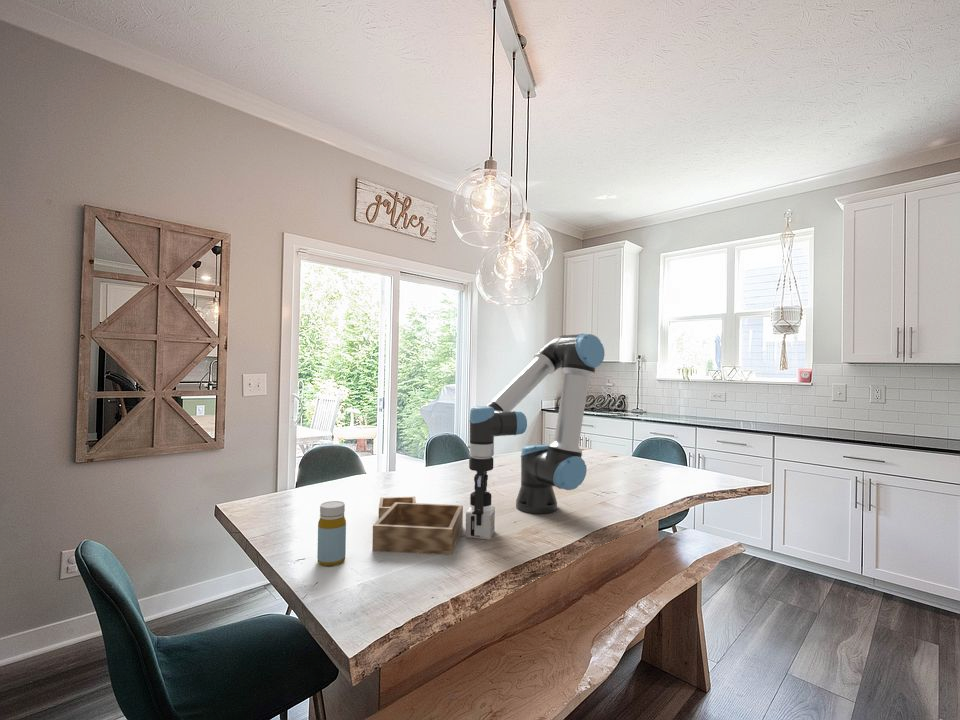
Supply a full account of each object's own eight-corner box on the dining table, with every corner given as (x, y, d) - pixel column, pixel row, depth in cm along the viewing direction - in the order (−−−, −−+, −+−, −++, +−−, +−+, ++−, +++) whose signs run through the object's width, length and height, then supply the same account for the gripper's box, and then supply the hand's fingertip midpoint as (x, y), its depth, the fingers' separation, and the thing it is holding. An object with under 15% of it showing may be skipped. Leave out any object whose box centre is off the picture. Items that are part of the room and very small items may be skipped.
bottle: (321, 556, 125) (322, 500, 126) (347, 555, 126) (348, 500, 126) (314, 567, 118) (315, 508, 119) (342, 566, 119) (343, 508, 119)
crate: (462, 526, 150) (462, 505, 150) (451, 554, 127) (452, 529, 128) (394, 523, 152) (395, 502, 152) (372, 550, 130) (372, 525, 130)
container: (490, 539, 139) (491, 496, 139) (465, 537, 140) (465, 494, 141) (494, 531, 146) (495, 489, 147) (470, 529, 148) (471, 488, 148)
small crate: (415, 513, 163) (415, 496, 163) (415, 524, 151) (416, 506, 151) (380, 514, 161) (380, 497, 161) (378, 526, 149) (378, 508, 149)
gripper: (473, 450, 155) (472, 518, 154) (465, 463, 134) (463, 542, 133) (495, 450, 154) (494, 519, 154) (491, 464, 133) (489, 543, 133)
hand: (480, 530), depth 143 cm, fingers closed on container, 8 cm apart
